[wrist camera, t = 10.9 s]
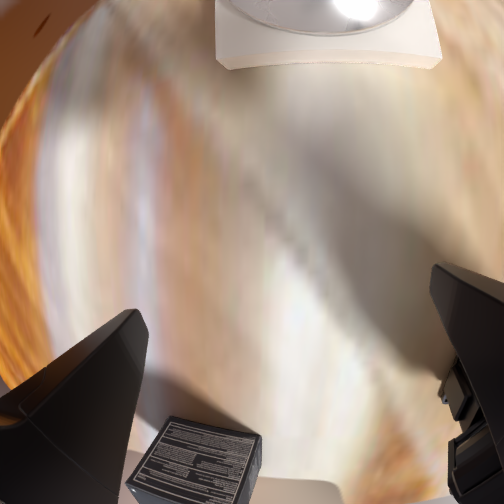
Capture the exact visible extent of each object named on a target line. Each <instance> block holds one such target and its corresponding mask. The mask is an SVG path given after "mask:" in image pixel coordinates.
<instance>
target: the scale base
mask: <svg viewBox="0 0 504 504" xmlns="http://www.w3.org/2000/svg"><path fill="white" fill-rule="evenodd" d="M215 43H216V60H217V61H218V62H219V63H221V64H222V65H223V66H224V67H225V68H227V69H228V70H234V69H241V68H249V67H258V66H268V65H281V64H296V63H371V64H387V65H398V66H408V67H417V68H424V69H432V68H433V67H434V66H435V65H436V64H437V63H439V62H440V61H441V60H442V59H443V58H442V53H441V48H440V43H439V38H438V34H437V30H436V25H435V21H434V17H433V14H432V10H431V6H430V3H429V0H414V2H413V3H412V5H411V7H410V8H409V9H408V10H407V11H406V12H405V13H404V14H403V15H402V16H401V17H400V18H398V19H397V20H395V21H394V22H392V23H390V24H388V25H386V26H384V27H382V28H379V29H376V30H374V31H370V32H366V33H362V34H357V35H350V36H339V37H315V36H307V35H299V34H294V33H289V32H284V31H281V30H277V29H274V28H271V27H268V26H266V25H263V24H261V23H259V22H257V21H255V20H253V19H251V18H249V17H248V16H246V15H245V14H243V13H242V12H240V11H239V10H238V9H237V8H236V7H235V6H233V5H232V4H231V2H230V1H229V0H215Z"/></svg>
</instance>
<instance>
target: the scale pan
mask: <svg viewBox="0 0 504 504" xmlns="http://www.w3.org/2000/svg"><path fill="white" fill-rule="evenodd" d="M229 1H230V2H231V4H232V5H233V6H235V7H236V8H237V9H238V10H239V11H240V12H242V13H243V14H245V15H246V16H248V17H249V18H251V19H253V20H255V21H257V22H259V23H261V24H263V25H266V26H268V27H271V28H274V29H277V30H281V31H284V32H289V33H294V34H299V35H307V36H315V37H339V36H350V35H357V34H362V33H366V32H370V31H374V30H376V29H379V28H382V27H384V26H386V25H388V24H390V23H392V22H394V21H395V20H397V19H398V18H400V17H401V16H402V15H403V14H404V13H405V12H406V11H407V10H408V9H409V8H410V7H411V5H412V3H413V2H414V0H229Z"/></svg>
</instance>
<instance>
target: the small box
mask: <svg viewBox="0 0 504 504" xmlns="http://www.w3.org/2000/svg"><path fill="white" fill-rule="evenodd" d="M261 461H262V437H261V436H260V435H255V434H249V433H243V432H237V431H232V430H227V429H222V428H217V427H213V426H208V425H203V424H199V423H195V422H191V421H187V420H184V419H180V418H176V417H172V416H169V417H168V418H167V419H166V421H165V424H164V426H163V427H162V429H161V430H160V432H159V433H158V435H157V436H156V438H155V439H154V441H153V442H152V444H151V445H150V447H149V448H148V450H147V451H146V453H145V454H144V456H143V458H142V459H141V461H140V462H139V464H138V465H137V467H136V468H135V470H134V471H133V473H132V474H131V476H130V477H129V478H128V479H127V480H126V482H125V484H126V486H127V487H128V489H129V490H130V492H131V493H132V495H133V496H134V497H135V499H136V500H137V501H138V503H139V504H249V501H250V498H251V495H252V492H253V489H254V486H255V483H256V480H257V477H258V473H259V470H260V468H261Z"/></svg>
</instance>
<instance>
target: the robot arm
mask: <svg viewBox="0 0 504 504" xmlns="http://www.w3.org/2000/svg"><path fill="white" fill-rule="evenodd" d="M430 295H431V297H432V300H433V302H434V304H435V307H436V309H437V311H438V314H439V316H440V319H441V321H442V323H443V326H444V328H445V331H446V333H447V335H448V337H449V339H450V341H451V343H452V345H453V347H454V349H455V351H456V353H457V355H456V359H455V362H454V365H453V366H452V367H451V370H450V372H449V375H448V378H447V381H446V384H445V386H444V392H443V395H442V398H441V400H442V403H443V404H449V407H450V410H451V413H452V416H453V419H454V420H455V421H459V423H460V426H461V429H462V432H463V433H462V434H461V435H459V436H458V437H456V438H453V439H452V440H451V441H449V442H448V487H449V488H450V489H449V492H450V494H451V495H453V496H454V498H455V499H456V501H457V502H458V503H459V504H504V283H502V282H499V281H497V280H494V279H491V278H489V277H486V276H483V275H481V274H478V273H475V272H472V271H470V270H467V269H464V268H461V267H458V266H456V265H453V264H450V263H447V262H441V263H436V264H434V265H433V267H432V272H431V280H430ZM148 338H149V332H148V329H147V326H146V324H145V322H144V320H143V317H142V315H141V313H140V311H139V310H138V309H127V310H124V311H123V312H121V313H120V314H118V315H117V316H116V317H114V318H113V319H111V320H110V321H108V322H107V323H106V324H104V325H103V326H101V327H100V328H99V329H97V330H96V331H94V332H93V333H91V334H90V335H89V336H87V337H86V338H84V339H83V340H82V341H80V342H79V343H77V344H76V345H75V346H73V347H72V348H70V349H69V350H68V351H66V352H65V353H64V354H62V355H61V356H59V357H58V358H57V359H55V360H54V361H53V362H51V363H50V364H48V365H47V367H44V368H43V369H41V370H40V371H39V372H37V373H36V374H35V375H33V376H32V377H30V378H29V379H28V380H26V381H25V382H23V383H22V384H20V385H19V386H17V387H16V388H14V389H13V390H11V391H10V392H9V393H6V394H5V395H3V396H2V397H1V398H0V504H118V498H119V497H118V496H119V491H120V484H121V479H122V473H123V468H124V462H125V456H126V451H127V447H128V442H129V437H130V432H131V427H132V422H133V418H134V413H135V409H136V404H137V400H138V396H139V392H140V387H141V383H142V379H143V373H144V366H145V359H146V352H147V345H148Z"/></svg>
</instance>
